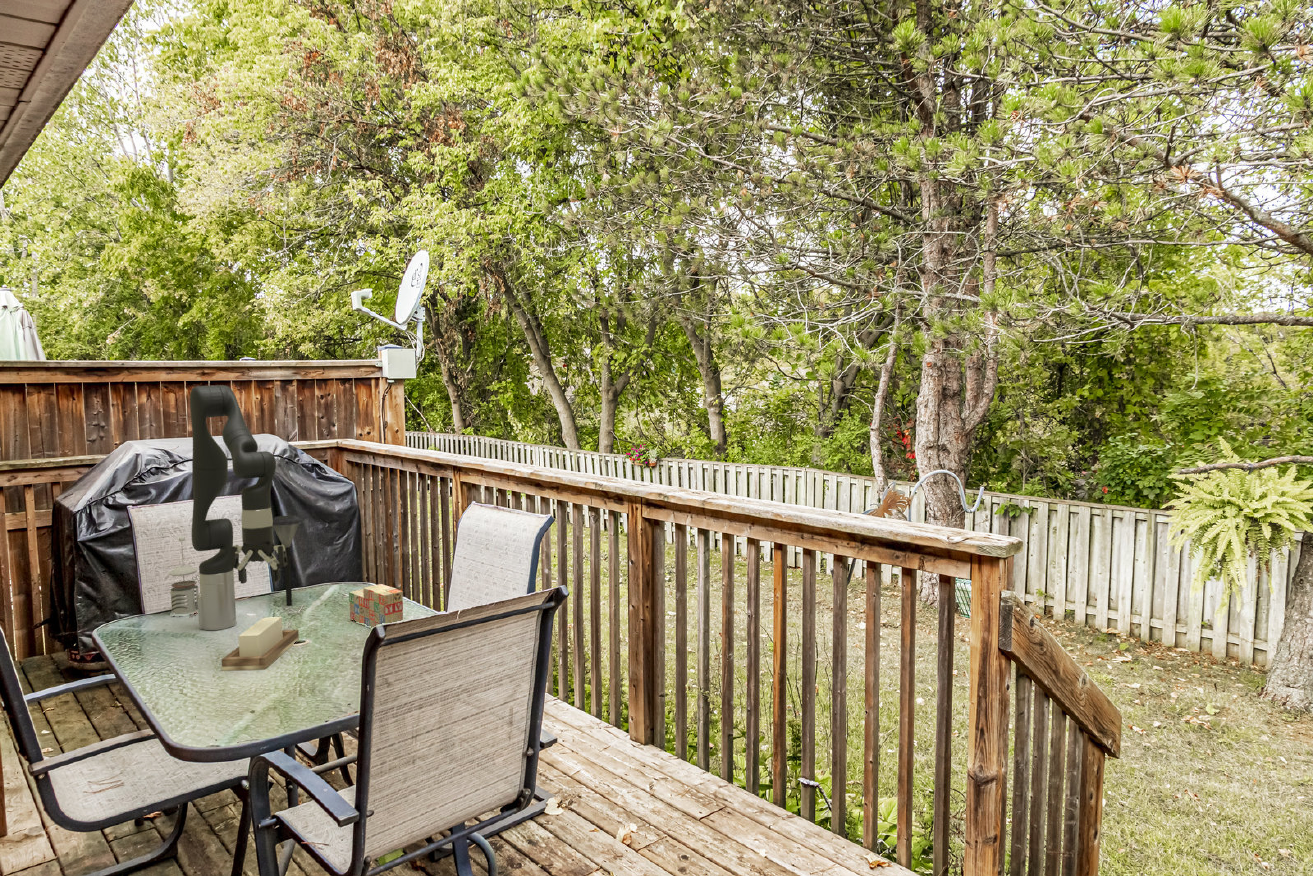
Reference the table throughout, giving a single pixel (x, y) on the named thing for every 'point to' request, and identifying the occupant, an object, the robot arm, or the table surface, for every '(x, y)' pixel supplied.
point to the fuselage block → (260, 637)
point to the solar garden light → (287, 544)
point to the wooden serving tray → (260, 662)
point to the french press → (184, 590)
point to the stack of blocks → (376, 605)
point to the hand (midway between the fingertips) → (259, 582)
